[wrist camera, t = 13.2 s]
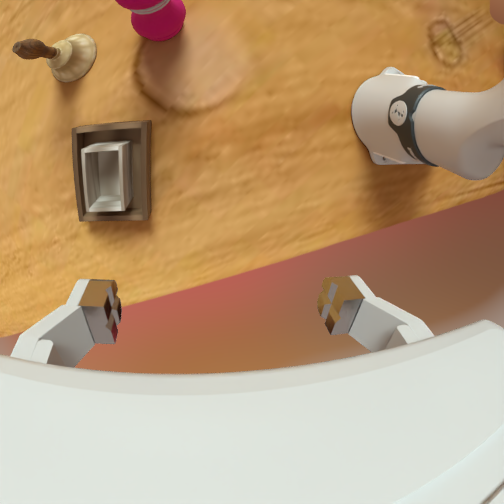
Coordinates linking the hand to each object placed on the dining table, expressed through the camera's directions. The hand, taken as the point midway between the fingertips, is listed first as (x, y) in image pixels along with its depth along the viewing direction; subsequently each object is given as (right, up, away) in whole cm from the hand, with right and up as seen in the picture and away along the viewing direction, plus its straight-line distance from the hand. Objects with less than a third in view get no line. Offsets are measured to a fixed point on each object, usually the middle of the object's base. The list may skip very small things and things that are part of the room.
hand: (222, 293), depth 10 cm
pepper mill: (-12, +34, +18) cm, 41 cm away
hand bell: (-26, +31, +17) cm, 44 cm away
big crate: (-20, +14, +28) cm, 37 cm away
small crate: (-20, +14, +27) cm, 36 cm away
